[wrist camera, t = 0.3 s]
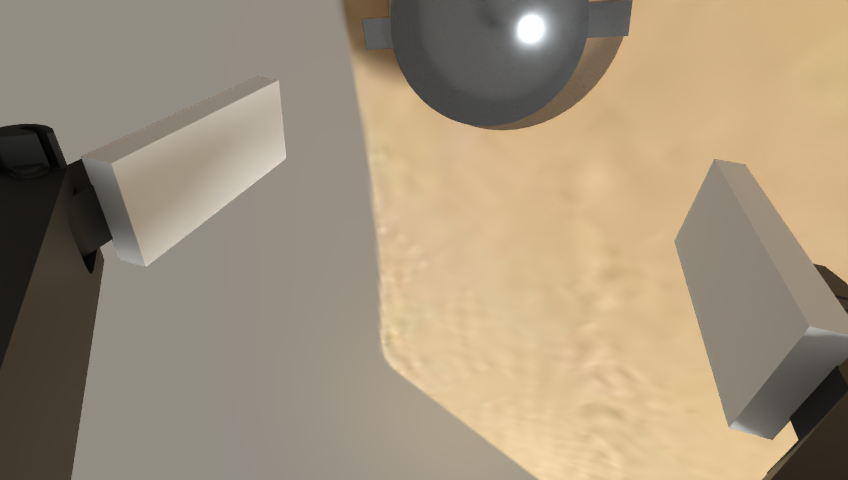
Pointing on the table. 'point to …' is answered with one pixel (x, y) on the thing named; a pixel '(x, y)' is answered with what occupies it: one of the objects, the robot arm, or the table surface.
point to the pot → (501, 54)
